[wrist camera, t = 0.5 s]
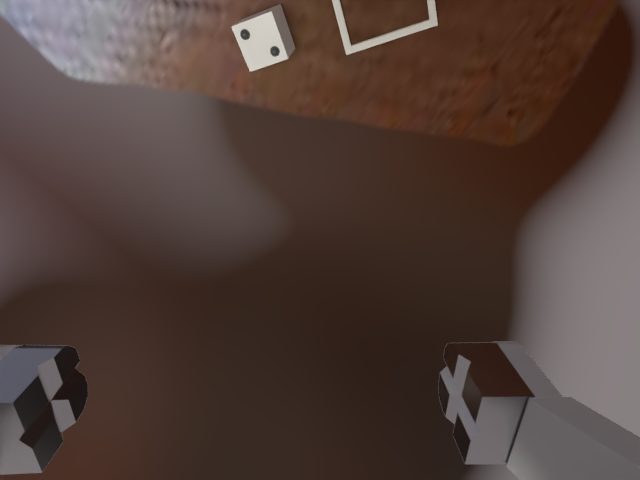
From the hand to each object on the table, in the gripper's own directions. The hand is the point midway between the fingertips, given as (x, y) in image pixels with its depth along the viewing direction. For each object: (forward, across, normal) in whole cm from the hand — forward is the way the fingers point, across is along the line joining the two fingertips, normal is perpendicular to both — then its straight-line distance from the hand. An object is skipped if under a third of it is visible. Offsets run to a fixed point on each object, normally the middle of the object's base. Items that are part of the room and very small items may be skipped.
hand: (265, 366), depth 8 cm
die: (+46, +4, -11) cm, 48 cm away
